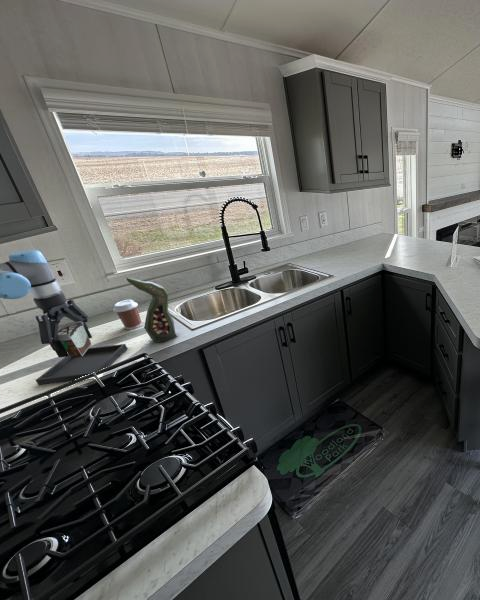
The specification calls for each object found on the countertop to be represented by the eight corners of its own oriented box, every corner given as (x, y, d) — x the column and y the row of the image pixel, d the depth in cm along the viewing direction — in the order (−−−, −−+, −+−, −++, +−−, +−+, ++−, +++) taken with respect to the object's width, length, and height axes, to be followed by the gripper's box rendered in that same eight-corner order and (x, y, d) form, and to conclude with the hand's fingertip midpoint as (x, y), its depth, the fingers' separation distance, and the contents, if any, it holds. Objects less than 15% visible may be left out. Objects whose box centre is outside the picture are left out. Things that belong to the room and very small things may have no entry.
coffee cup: (122, 332, 149) (111, 309, 144) (121, 325, 155) (110, 302, 150) (146, 325, 154) (136, 302, 149) (144, 319, 161) (135, 296, 156)
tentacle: (147, 340, 142) (119, 276, 129) (178, 328, 151) (154, 267, 138) (155, 346, 137) (127, 280, 124) (186, 334, 146) (163, 271, 133)
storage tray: (96, 378, 119) (93, 373, 118) (38, 385, 116) (35, 380, 115) (127, 348, 136) (125, 343, 135) (77, 354, 134) (75, 349, 133)
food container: (73, 346, 127) (61, 323, 123) (93, 342, 129) (81, 320, 125) (59, 363, 117) (45, 339, 112) (80, 358, 119) (67, 334, 115)
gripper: (61, 282, 124) (87, 331, 133) (3, 311, 102) (38, 367, 111) (83, 280, 125) (107, 329, 134) (30, 308, 103) (63, 364, 112)
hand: (76, 346), depth 123 cm, fingers closed on food container, 12 cm apart
